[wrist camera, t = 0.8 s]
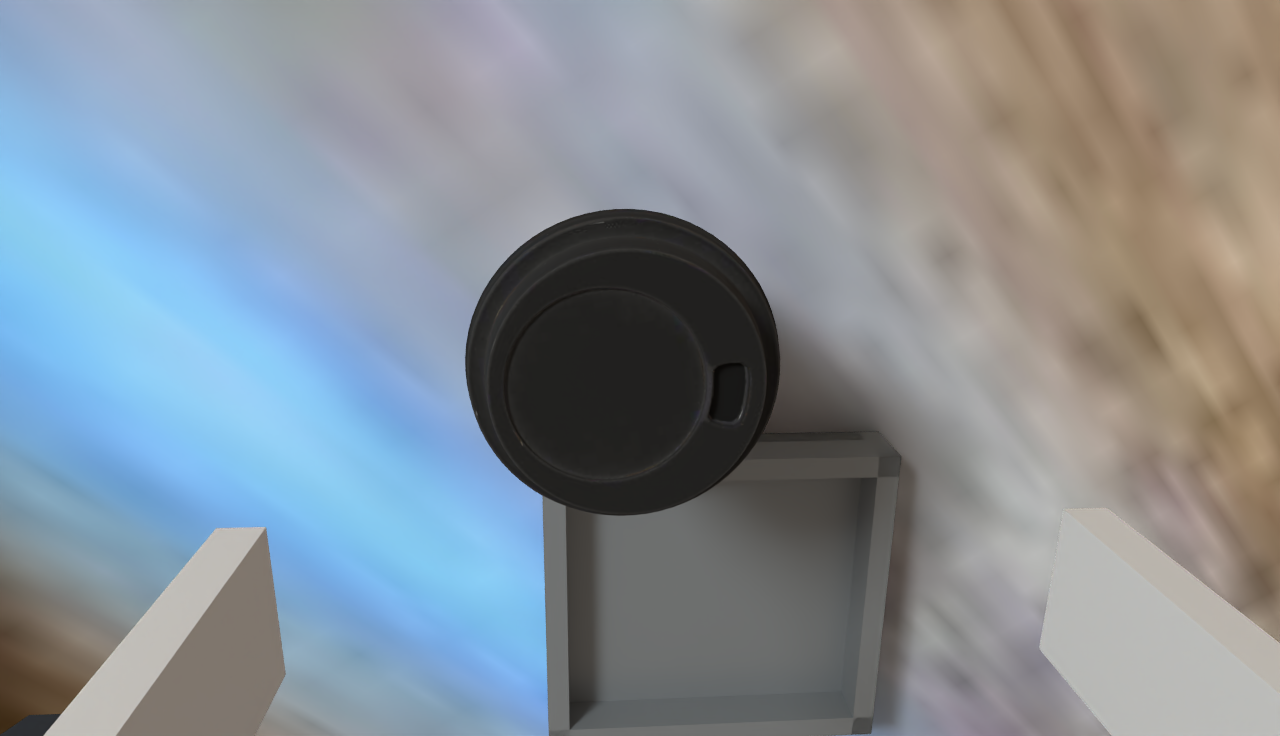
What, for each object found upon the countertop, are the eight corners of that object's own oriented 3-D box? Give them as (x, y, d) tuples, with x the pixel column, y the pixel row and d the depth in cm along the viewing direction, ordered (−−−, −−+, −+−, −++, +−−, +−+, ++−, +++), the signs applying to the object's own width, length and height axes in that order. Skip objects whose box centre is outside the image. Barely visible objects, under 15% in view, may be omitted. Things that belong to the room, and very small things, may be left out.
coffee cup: (743, 332, 40) (838, 466, 25) (554, 411, 40) (543, 586, 26) (666, 135, 37) (725, 161, 22) (463, 222, 37) (395, 302, 23)
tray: (550, 706, 45) (549, 747, 42) (543, 437, 40) (541, 463, 38) (852, 694, 46) (871, 733, 43) (878, 431, 42) (901, 456, 39)
